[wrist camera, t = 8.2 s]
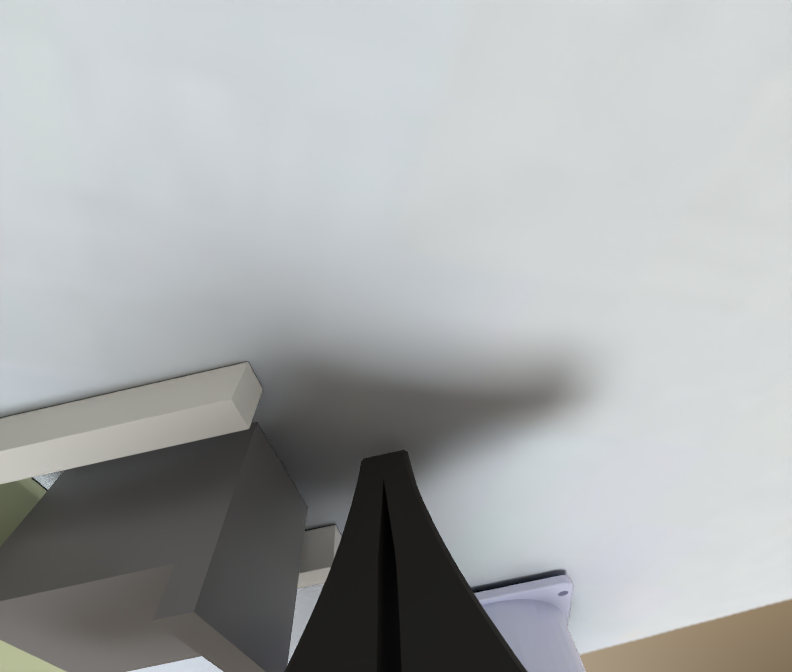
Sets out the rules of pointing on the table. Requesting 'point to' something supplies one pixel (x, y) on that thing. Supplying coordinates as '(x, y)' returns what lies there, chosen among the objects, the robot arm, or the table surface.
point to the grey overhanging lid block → (160, 561)
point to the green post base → (130, 452)
